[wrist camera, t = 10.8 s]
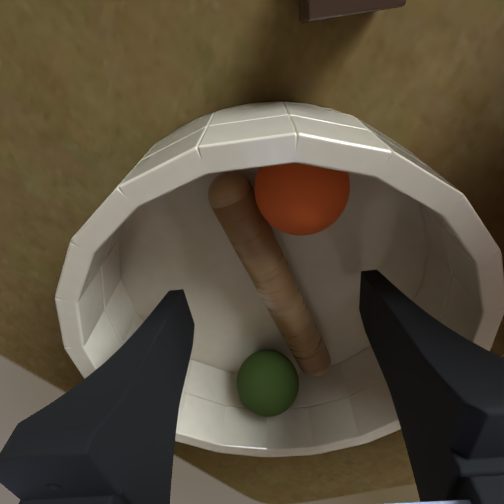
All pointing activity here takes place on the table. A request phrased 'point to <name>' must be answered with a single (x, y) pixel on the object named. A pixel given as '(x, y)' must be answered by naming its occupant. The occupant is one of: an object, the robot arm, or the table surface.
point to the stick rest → (341, 8)
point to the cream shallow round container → (299, 260)
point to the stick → (268, 269)
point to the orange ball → (301, 197)
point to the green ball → (267, 383)
